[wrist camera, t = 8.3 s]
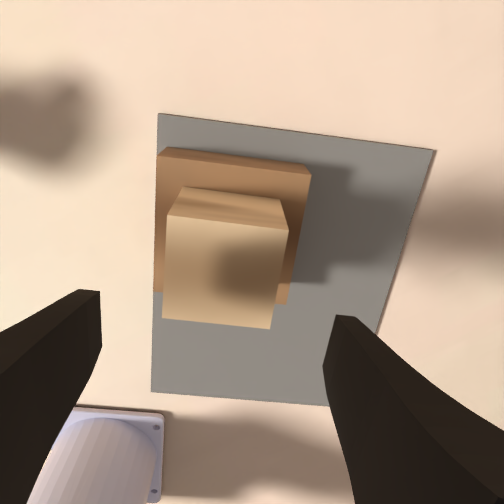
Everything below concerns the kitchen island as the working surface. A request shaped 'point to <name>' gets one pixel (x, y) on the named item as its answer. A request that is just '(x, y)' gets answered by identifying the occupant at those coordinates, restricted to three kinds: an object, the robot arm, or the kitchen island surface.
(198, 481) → the kitchen island surface
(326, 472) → the kitchen island surface
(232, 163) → the walnut slab
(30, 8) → the kitchen island surface
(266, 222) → the maple block
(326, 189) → the mat
